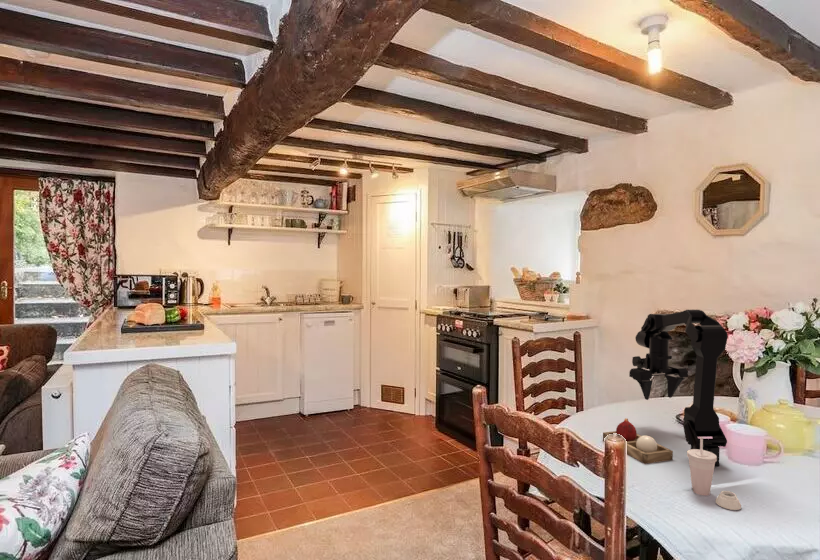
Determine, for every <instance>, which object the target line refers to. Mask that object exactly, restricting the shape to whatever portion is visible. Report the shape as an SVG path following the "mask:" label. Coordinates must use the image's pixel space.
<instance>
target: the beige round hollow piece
mask: <svg viewBox="0 0 820 560" xmlns="http://www.w3.org/2000/svg"><path fill="white" fill-rule="evenodd" d="M715 504H717V505H718V506H719V507H721V508H723V509H726V510H731V511H738V510H741V509H742V504H741V502H740V500H739V498H738V497H737V494H736V493H734V492H732V491H729V490H722V491H720V493H719V494H718V495H717V497H716V499H715Z"/></svg>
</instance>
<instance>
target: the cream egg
mask: <svg viewBox="0 0 820 560" xmlns="http://www.w3.org/2000/svg"><path fill="white" fill-rule="evenodd" d="M657 444H658V443H657V441H656V439H654V438H653V437H652V436H649V435H641V437H639V438H638V439H637V441H636V447H637V449H639V450H641V451H643V452H645V453H648V452H656V451H657Z"/></svg>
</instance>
